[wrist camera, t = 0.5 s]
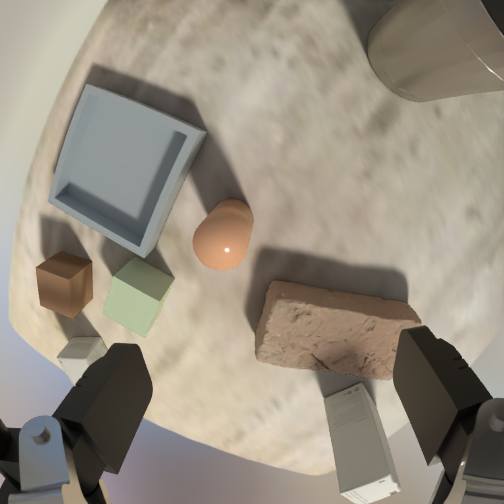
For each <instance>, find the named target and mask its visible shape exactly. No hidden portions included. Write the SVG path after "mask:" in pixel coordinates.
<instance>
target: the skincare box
mask: <svg viewBox="0 0 504 504" xmlns="http://www.w3.org/2000/svg"><path fill="white" fill-rule="evenodd" d="M324 405H325V410H326V415H327V420H328V425H329V431H330V437H331V442H332V447H333V453H334V458H335V464H336V470H337V476H338V482H339V489H340V494H341V495H343V496H344V497H346V498H347V499H349V500H350V501H352V502H353V503H355V504H368V503H371V502H374V501H377V500H379V499H382V498H385V497H387V496H389V495H392V494H395V493H397V492H399V491H401V487H400V483H399V479H398V476H397V472H396V469H395V465H394V462H393V459H392V455H391V451H390V448H389V445H388V441H387V438H386V435H385V432H384V429H383V426H382V423H381V419H380V416H379V413H378V410H377V408H376V406H375V404H374V402H373V400H372V399H371V397H370V395H369V393H368V392H367V390H366V389H365V387H364V385H363V383H359V384H356V385H354V386H353V387H350V388H348V389H345V390H343V391H340V392H337V393H335V394H332V395H330V396H327V397H325V398H324Z"/></svg>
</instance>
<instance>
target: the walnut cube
mask: <svg viewBox="0 0 504 504" xmlns="http://www.w3.org/2000/svg"><path fill="white" fill-rule="evenodd" d="M36 275H37V284H38V292H39V299H40V305H41V306H43V307H45V308H47V309H50V310H52V311H54V312H57V313H59V314H61V315H64V316H66V317H69V318H71V319H73V318H74V317H75V316H76V315H77V314H78V313H79V312H80V311H81V310H82V309H83V308H84V307H85V306H86V305H87V304H88V303H89V302H90V301H91V300H92V299H93V281H92V261H89V260H85V259H82V258H79V257H76V256H73V255H70V254H67V253H63V252H58V253H57V254H55V255H54V256H52V257H51V258H49V259H48V260H46V261H45V262H43V263H41V264H40V265H38V266H37V267H36Z"/></svg>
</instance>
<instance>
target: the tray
mask: <svg viewBox="0 0 504 504" xmlns="http://www.w3.org/2000/svg"><path fill="white" fill-rule="evenodd" d="M207 133H208V132H207V131H205V130H203V129H201V128H198V127H196V126H194V125H192V124H190V123H188V122H185V121H183V120H181V119H179V118H177V117H174V116H172V115H170V114H168V113H165V112H163V111H161V110H158V109H156V108H154V107H151V106H149V105H146V104H144V103H142V102H139V101H137V100H134V99H132V98H129V97H127V96H124V95H122V94H119V93H116V92H114V91H111V90H108V89H106V88H103V87H99V86H95V85H90V84H86V86H85V88H84V90H83V93H82V95H81V98H80V100H79V102H78V105H77V107H76V110H75V113H74V115H73V118H72V121H71V123H70V126H69V129H68V132H67V135H66V138H65V141H64V144H63V147H62V150H61V153H60V157H59V160H58V164H57V167H56V171H55V174H54V178H53V182H52V186H51V190H50V194H49V199H48V202H49V203H51V204H52V205H54V206H56V207H57V208H59V209H60V210H62V211H64V212H65V213H67V214H69V215H70V216H72V217H73V218H75V219H77V220H78V221H80V222H82V223H83V224H85V225H87V226H89V227H90V228H92V229H94V230H95V231H97V232H99V233H100V234H102V235H104V236H106V237H107V238H109V239H111V240H113V241H114V242H116V243H118V244H120V245H121V246H123V247H125V248H127V249H128V250H130V251H132V252H134V253H136V254H137V255H139V256H141V257H143V258H145V257H146V256H147V255H148V254H149V253H150V252H151V251H152V250H153V249H154V248H155V247H156V244H157V242H158V240H159V237H160V235H161V232H162V230H163V228H164V225H165V223H166V221H167V218H168V216H169V214H170V211H171V209H172V207H173V204H174V202H175V200H176V198H177V196H178V193H179V191H180V189H181V187H182V185H183V182H184V180H185V178H186V176H187V174H188V172H189V170H190V168H191V166H192V164H193V161H194V159H195V157H196V155H197V153H198V151H199V149H200V147H201V145H202V143H203V141H204V139H205V137H206V135H207Z"/></svg>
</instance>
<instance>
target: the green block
mask: <svg viewBox="0 0 504 504" xmlns="http://www.w3.org/2000/svg"><path fill="white" fill-rule="evenodd" d="M174 280H175V278H173V277H171V276H169V275H167V274H166V273H164V272H162V271H160V270H158V269H156V268H154V267H153V266H151V265H149V264H147V263H145V262H143V261H142V260H140V259H138V258H136V257H133V258H132V259H131V260H130V261H129V262H128V263H127V264H126V265H125V266H124V267H123V268H121V269H120V270H119V271H118V272H117V273H116V274H115V275H114V276H113V280H112V283H111V286H110V290H109V293H108V297H107V301H106V304H105V308H104V312H103V314H104V315H105V316H107V317H109V318H110V319H112V320H114V321H115V322H117V323H119V324H121V325H122V326H124V327H126V328H128V329H129V330H131V331H133V332H135V333H137V334H139V335H140V336H142V337H144V338H145V337H146V335H147V334H148V332H149V330H150V329H151V327H152V325H153V324H154V322H155V320H156V319H157V317H158V315H159V314H160V312H161V309H162V307H163V305H164V302H165V300H166V298H167V296H168V293H169V291H170V289H171V286H172V284H173V282H174Z"/></svg>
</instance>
